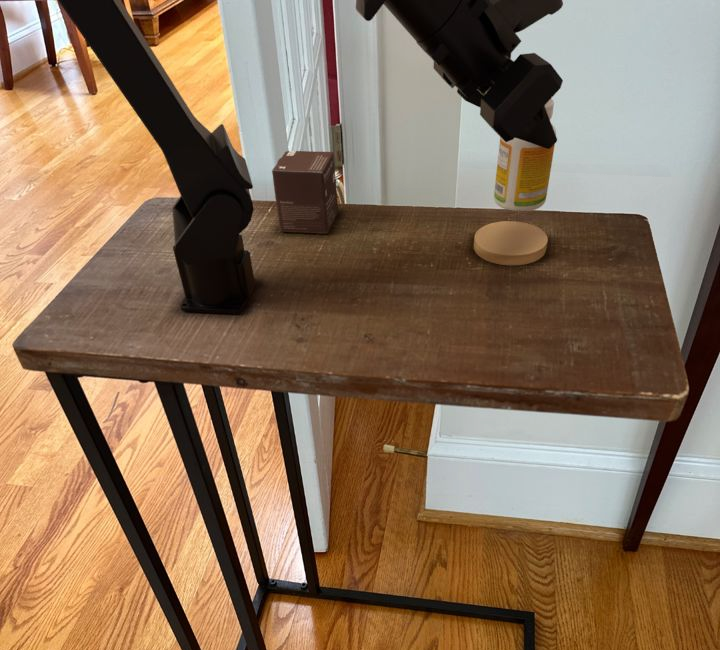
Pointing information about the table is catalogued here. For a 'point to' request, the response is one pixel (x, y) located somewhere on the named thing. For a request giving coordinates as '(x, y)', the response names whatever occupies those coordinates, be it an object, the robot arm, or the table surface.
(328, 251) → the table surface
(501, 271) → the table surface
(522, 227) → the coaster
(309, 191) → the box
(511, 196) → the supplement bottle
